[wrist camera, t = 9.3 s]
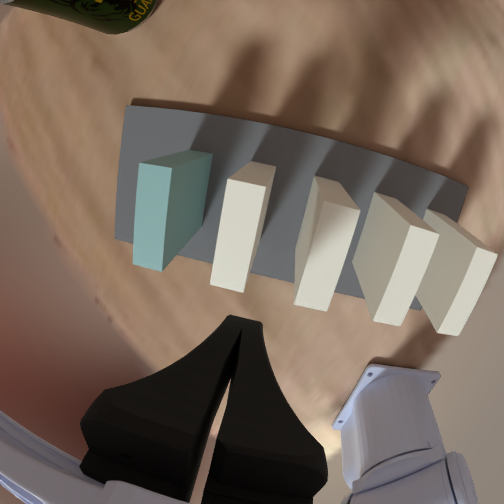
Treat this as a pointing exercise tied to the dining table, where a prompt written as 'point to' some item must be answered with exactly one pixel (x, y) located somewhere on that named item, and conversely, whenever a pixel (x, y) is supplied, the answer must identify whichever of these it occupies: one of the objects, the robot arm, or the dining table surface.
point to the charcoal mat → (284, 183)
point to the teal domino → (169, 205)
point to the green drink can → (94, 12)
